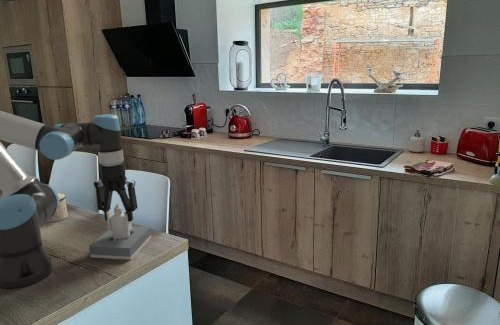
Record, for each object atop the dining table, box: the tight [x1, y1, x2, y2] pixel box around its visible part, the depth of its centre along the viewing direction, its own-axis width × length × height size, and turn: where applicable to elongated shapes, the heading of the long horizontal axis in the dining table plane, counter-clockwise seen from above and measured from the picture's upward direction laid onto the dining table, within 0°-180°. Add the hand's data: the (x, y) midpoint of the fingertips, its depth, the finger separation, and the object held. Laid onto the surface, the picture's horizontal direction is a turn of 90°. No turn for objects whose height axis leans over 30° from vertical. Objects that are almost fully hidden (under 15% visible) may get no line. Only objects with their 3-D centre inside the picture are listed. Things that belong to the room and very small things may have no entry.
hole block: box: [88, 225, 152, 261], centre depth 130 cm, size 16×14×4 cm
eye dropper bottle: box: [110, 203, 130, 239], centre depth 129 cm, size 4×6×12 cm
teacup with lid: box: [46, 192, 69, 223], centre depth 155 cm, size 12×9×12 cm
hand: (120, 229), depth 129 cm, fingers closed on eye dropper bottle, 6 cm apart
